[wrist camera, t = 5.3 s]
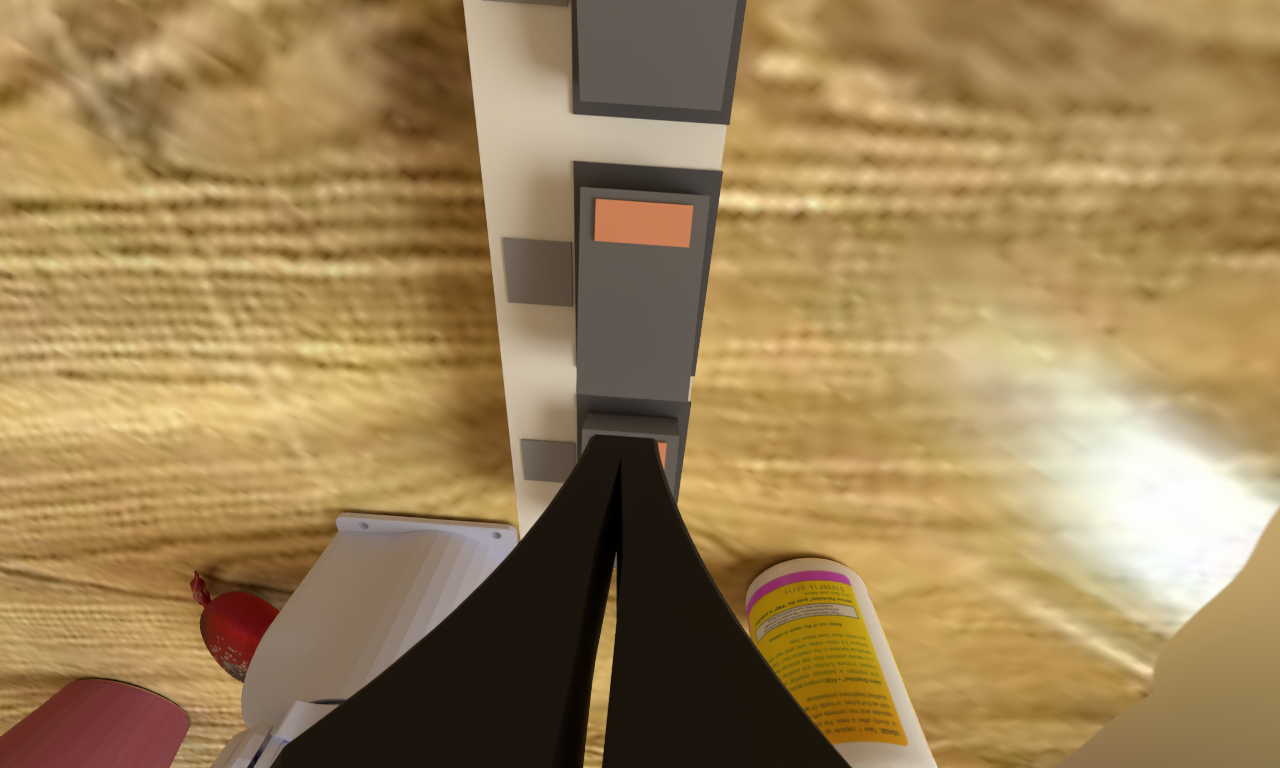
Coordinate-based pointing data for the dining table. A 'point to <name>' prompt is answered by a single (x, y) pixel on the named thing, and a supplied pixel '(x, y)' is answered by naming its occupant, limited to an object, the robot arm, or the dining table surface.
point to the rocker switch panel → (567, 217)
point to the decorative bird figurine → (232, 626)
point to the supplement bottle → (836, 661)
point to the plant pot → (97, 729)
